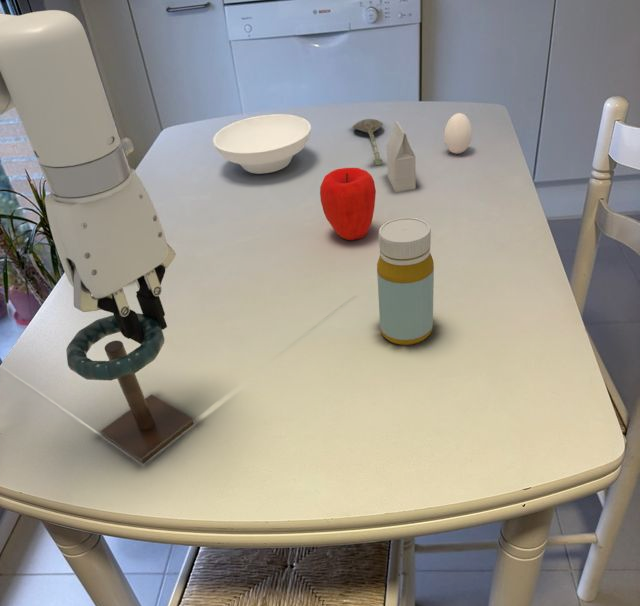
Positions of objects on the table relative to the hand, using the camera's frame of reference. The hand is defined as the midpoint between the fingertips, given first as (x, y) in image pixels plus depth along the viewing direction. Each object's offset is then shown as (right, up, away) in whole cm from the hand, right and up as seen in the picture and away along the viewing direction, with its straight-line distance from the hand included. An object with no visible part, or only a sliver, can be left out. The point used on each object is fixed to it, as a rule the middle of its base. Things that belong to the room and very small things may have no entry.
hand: (146, 330), depth 72 cm
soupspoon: (+30, +48, +62) cm, 84 cm away
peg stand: (-1, -11, +7) cm, 13 cm away
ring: (-3, -2, -2) cm, 4 cm away
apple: (+25, +21, +36) cm, 48 cm away
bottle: (+31, +2, +15) cm, 35 cm away
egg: (+46, +43, +54) cm, 83 cm away
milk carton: (+35, +34, +48) cm, 68 cm away
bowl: (+9, +42, +60) cm, 74 cm away
